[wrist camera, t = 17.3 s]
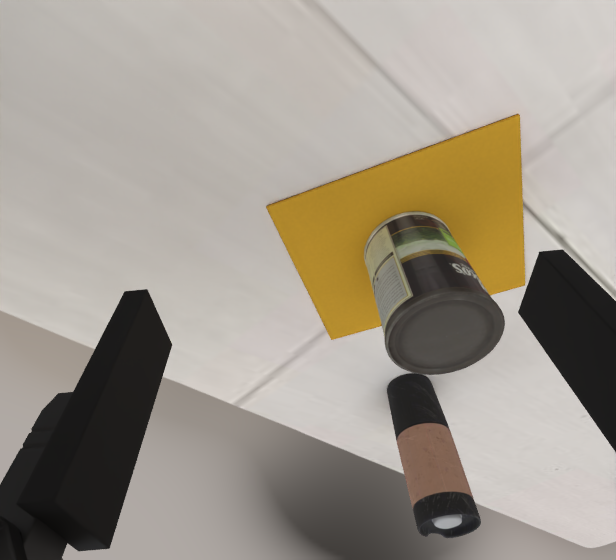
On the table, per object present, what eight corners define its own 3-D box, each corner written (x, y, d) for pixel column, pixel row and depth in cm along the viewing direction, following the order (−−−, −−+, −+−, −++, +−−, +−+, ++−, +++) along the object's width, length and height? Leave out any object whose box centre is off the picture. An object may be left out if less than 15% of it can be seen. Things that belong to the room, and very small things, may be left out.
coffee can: (425, 192, 40) (475, 271, 29) (466, 254, 45) (522, 342, 34) (345, 245, 44) (363, 333, 33) (391, 297, 49) (420, 389, 38)
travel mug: (423, 365, 58) (471, 508, 42) (439, 391, 62) (489, 529, 47) (377, 383, 61) (407, 524, 45) (396, 407, 65) (430, 544, 49)
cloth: (331, 337, 54) (331, 340, 54) (266, 205, 41) (266, 207, 41) (523, 283, 49) (525, 285, 49) (518, 113, 36) (520, 114, 36)
